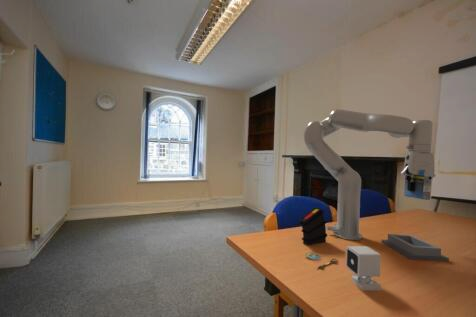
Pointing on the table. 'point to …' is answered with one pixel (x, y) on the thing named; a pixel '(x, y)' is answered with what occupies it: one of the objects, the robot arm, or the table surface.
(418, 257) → the slot holder
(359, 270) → the security camera
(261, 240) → the table surface
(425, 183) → the label tape box
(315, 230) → the black ridged block
